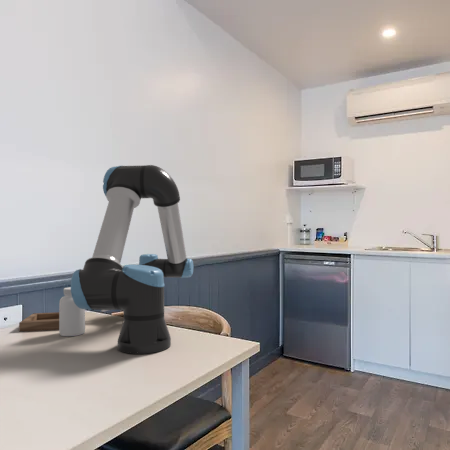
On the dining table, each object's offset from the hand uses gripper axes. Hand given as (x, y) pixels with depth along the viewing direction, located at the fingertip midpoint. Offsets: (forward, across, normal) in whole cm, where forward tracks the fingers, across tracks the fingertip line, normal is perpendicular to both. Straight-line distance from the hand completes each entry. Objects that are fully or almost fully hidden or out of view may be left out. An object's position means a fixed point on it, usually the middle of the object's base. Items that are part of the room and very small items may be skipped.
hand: (88, 305), depth 138 cm
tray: (+3, +17, -8) cm, 19 cm away
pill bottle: (+7, 0, -8) cm, 11 cm away
